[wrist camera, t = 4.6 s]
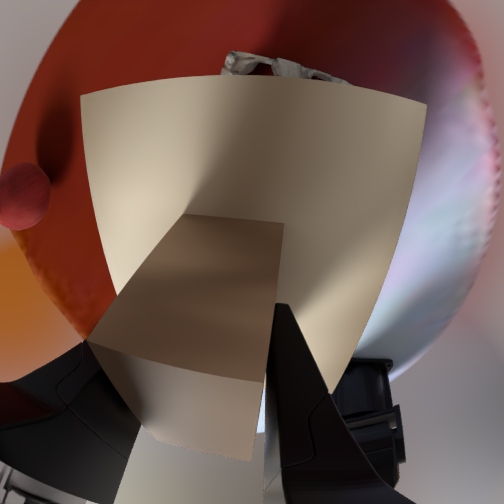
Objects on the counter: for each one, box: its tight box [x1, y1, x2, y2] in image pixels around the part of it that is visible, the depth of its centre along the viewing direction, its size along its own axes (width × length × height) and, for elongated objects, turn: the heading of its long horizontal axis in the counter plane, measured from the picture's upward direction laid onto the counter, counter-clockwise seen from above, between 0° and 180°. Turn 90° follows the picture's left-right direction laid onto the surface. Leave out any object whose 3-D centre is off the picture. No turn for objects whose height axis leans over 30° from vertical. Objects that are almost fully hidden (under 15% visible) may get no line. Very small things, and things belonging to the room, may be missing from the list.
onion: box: [0, 163, 51, 230], centre depth 17 cm, size 6×6×8 cm
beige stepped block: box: [81, 75, 427, 461], centre depth 8 cm, size 10×13×6 cm
